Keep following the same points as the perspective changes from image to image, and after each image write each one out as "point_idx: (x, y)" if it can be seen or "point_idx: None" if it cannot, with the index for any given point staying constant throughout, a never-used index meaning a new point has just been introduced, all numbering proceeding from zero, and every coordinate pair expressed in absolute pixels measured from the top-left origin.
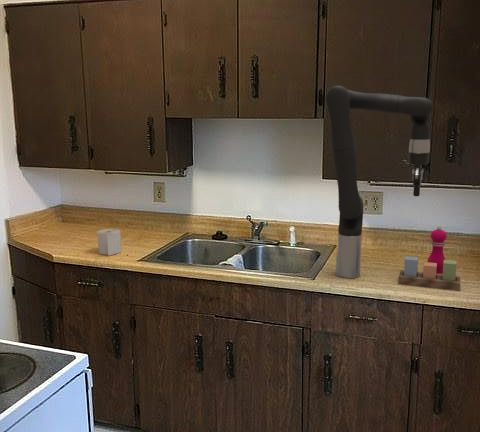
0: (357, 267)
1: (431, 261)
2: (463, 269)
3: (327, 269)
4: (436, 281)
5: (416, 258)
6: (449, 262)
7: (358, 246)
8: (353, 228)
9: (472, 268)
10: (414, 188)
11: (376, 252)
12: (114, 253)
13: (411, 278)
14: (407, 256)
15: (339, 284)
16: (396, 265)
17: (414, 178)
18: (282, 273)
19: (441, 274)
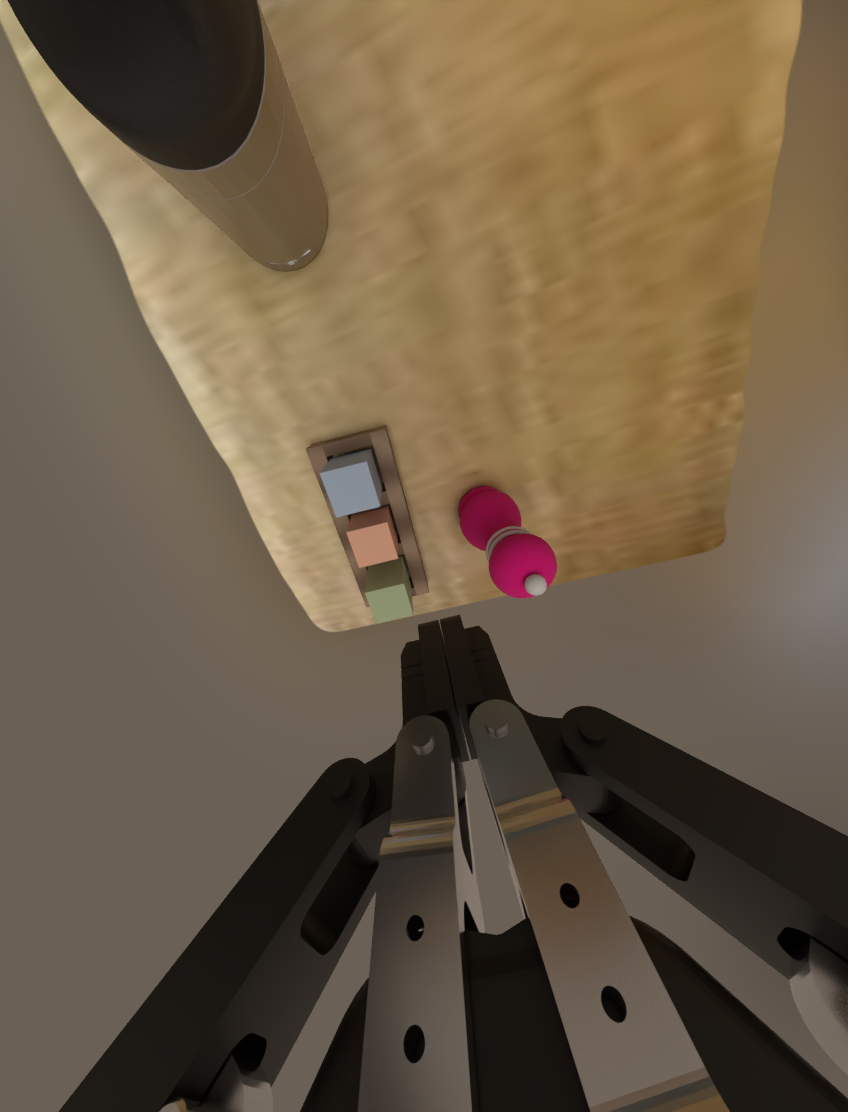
0: (252, 252)
1: (467, 515)
2: (556, 558)
3: (274, 23)
4: (347, 555)
5: (361, 506)
6: (383, 604)
7: (201, 204)
8: (57, 50)
9: (575, 574)
10: (425, 698)
11: (679, 187)
12: None
13: (321, 489)
14: (366, 468)
15: (134, 227)
16: (511, 361)
17: (150, 1024)
18: None
19: (414, 550)
